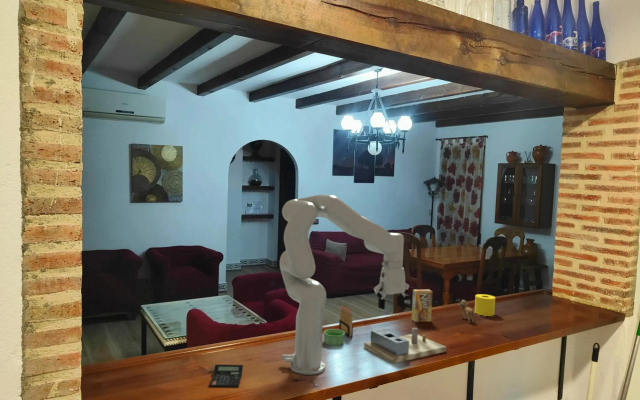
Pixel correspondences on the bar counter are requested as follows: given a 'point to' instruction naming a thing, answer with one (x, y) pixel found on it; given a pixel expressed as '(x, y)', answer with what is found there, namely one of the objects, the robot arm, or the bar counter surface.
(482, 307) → the yellow cylinder
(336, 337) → the ramekin
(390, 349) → the grey rectangular block
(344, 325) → the ammunition clip
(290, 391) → the bar counter surface
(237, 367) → the calculator
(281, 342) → the bar counter surface
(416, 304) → the candy box
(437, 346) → the board
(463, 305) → the lion figurine
